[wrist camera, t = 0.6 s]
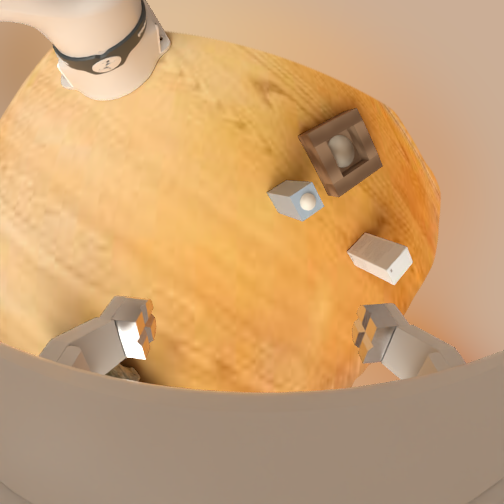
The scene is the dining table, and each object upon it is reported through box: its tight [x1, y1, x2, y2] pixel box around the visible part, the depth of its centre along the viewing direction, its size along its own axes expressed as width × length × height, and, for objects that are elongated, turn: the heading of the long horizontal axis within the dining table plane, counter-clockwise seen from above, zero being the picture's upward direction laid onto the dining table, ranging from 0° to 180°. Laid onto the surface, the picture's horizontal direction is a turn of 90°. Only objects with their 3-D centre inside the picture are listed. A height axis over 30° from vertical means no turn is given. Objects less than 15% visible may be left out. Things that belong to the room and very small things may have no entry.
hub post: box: [267, 180, 324, 221], centre depth 41 cm, size 4×4×9 cm
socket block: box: [298, 108, 382, 197], centre depth 44 cm, size 12×12×4 cm
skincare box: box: [347, 233, 413, 285], centre depth 47 cm, size 6×4×12 cm
